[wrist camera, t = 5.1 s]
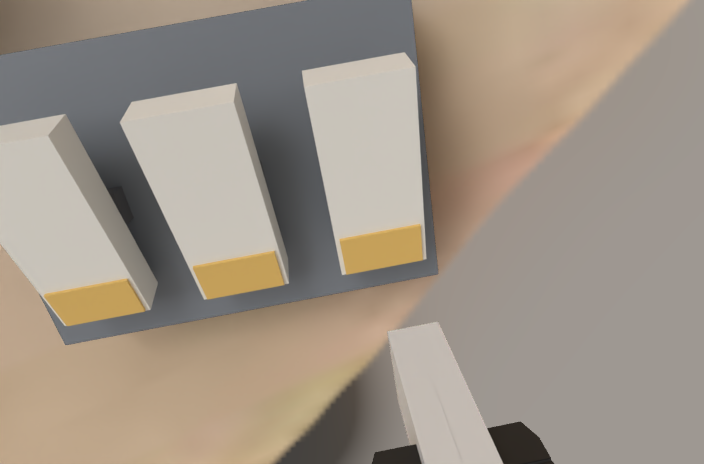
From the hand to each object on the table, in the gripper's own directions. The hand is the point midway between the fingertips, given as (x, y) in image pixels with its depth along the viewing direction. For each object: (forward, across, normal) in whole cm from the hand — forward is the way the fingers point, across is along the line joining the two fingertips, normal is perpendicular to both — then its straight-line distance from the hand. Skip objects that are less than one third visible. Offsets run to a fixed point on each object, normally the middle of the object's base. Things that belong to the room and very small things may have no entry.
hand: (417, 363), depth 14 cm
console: (+16, -7, +3) cm, 17 cm away
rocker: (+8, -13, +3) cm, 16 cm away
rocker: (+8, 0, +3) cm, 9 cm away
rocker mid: (+8, -6, +3) cm, 11 cm away
